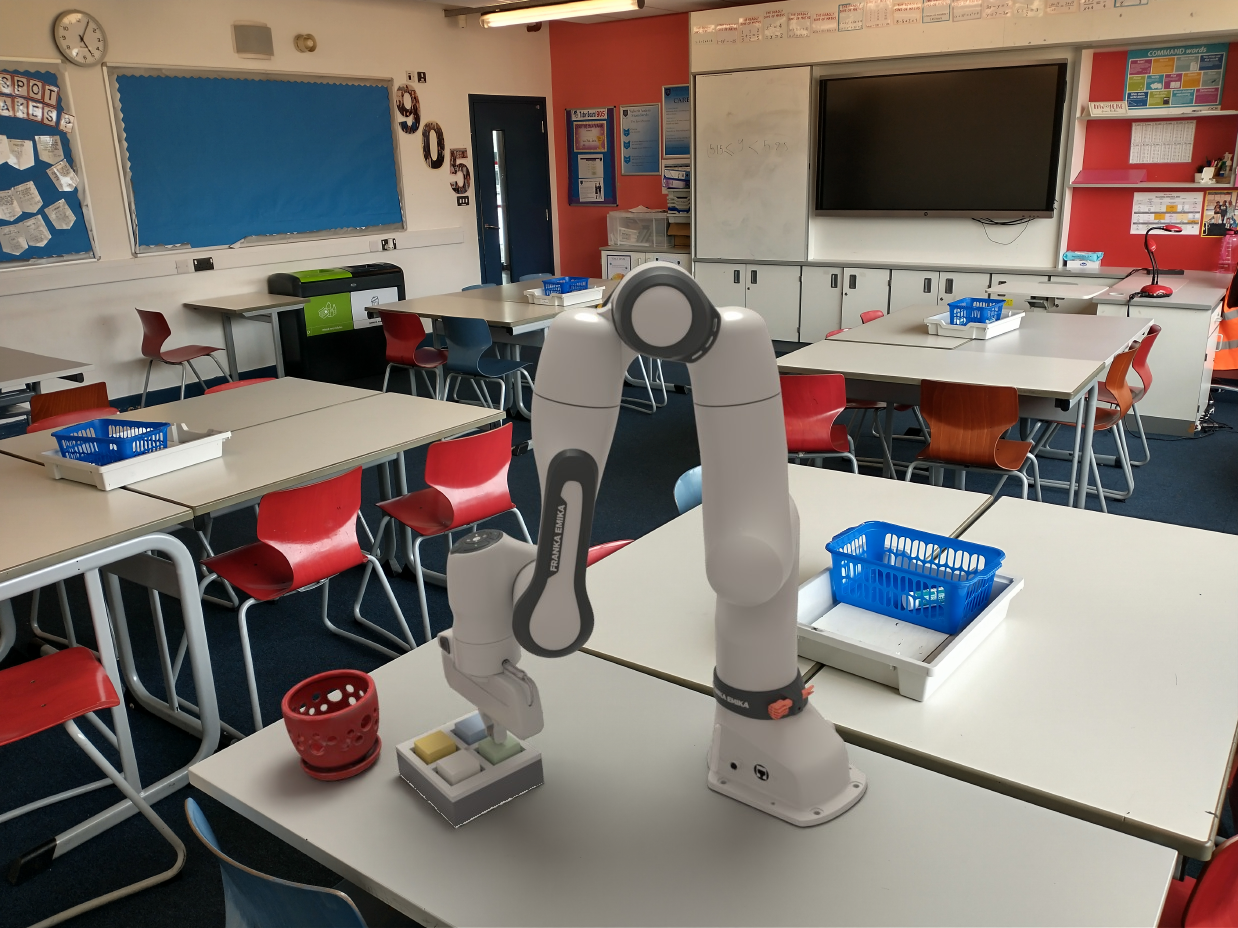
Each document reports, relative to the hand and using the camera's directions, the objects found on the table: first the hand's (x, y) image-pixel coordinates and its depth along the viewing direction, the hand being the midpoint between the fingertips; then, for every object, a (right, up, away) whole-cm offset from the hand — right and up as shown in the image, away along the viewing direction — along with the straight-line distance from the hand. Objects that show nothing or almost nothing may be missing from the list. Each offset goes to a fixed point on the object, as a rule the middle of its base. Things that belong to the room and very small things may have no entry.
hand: (496, 737), depth 131 cm
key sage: (0, -3, +1) cm, 3 cm away
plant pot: (-24, -6, +8) cm, 26 cm away
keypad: (-4, -6, +2) cm, 8 cm away
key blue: (-4, -2, +6) cm, 7 cm away
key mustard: (-9, -3, +2) cm, 9 cm away
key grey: (-5, -4, -3) cm, 7 cm away
